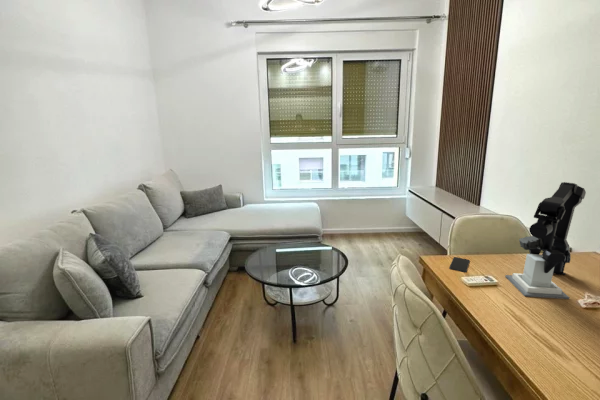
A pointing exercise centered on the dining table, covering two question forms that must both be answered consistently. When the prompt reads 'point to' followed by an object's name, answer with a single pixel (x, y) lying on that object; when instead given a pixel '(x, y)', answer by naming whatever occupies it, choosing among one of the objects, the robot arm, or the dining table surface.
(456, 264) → the smartphone
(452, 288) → the dining table surface
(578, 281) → the dining table surface
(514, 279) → the dock
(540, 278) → the supplement box
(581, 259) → the dining table surface
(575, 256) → the dining table surface
